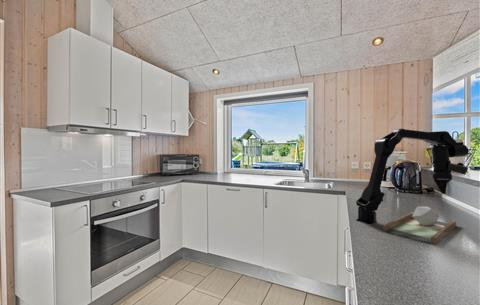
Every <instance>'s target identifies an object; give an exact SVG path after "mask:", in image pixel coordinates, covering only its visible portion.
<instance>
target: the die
mask: <svg viewBox="0 0 480 305" xmlns="http://www.w3.org/2000/svg"><path fill="white" fill-rule="evenodd" d="M413 212H414V213H413V215H412V217H413V218H414V219H415V220H416V221H417V222H419V223H420V224H421V225H422V226H434V225H435V223H436V221H438V219H439V217H440V215H439V213H437V212H435V211H434V210H433V209H432V208H431V207H429V206H416V208H415V209H414V211H413Z"/></svg>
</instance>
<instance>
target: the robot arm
mask: <svg viewBox="0 0 480 305" xmlns="http://www.w3.org/2000/svg"><path fill="white" fill-rule="evenodd" d="M403 139H410V140H416V141H417V140H418V141H424V142H425V143H428V144H430V145H429V146H428V147H427V148H426V149H427V150H431V155H432V156H431V157H432V166H433V168H432V169H433V172H432V179H433V181H434V182H435V184H436V186H437V187H438V189H439V191H440V192H441V194H446V191H447V185H448V183H449V182H451V181H452V180H453V174H452V172H455V173H459V174H462V175H466V174H467V172H468V170H469V166H465V165H464V163H463V162H458V163H452V162H451V160H450V158H459V157H462V158H463V157H466V156H468V154H469V150H470V149H469V148H468V146H467V145H465V144H464V142H463V141H459V142H457V141H456V139H454V138H453V137H452V135H451V134H450V132H449V131H447V130H443V131H441V130H440V131H422V130H414V129H413V130H412V129H406V128H397V129H394V130H392V131H391V132H390V133H388V134H386V135H385V136H382V137H381V138H377V140H375V142H374V150H373V151H374V153H375V157H374V160H373V162H374V163H373V166H372V170H371V173H370V177H369V180H368V181H369V182H368V185H367V186H366V187H365V188H364V189H363V192H362V194H361V196H360V197H359V198H358V199H357V200H356V201H355V204H356V206H357V210H358V211H357V218H356V221H357V222H362V223H364V224H365V223H367V224H369V225H370V224H371V225H372V224H374V223H377V221H378V220H377V212H376V211H378V209H379V206H380V205H381V204H382V202H383V203H384V196H385V192H382V189H381V186H382V183H383V182H382V181H383V179H384V174H385V170H386V167H387V163H388V159H389V158H390V156H391V155H393V153H394V151H395V149H396V146H397V145H398V144H400V143H401V141H402V140H403Z"/></svg>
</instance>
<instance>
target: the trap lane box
mask: <svg viewBox="0 0 480 305" xmlns="http://www.w3.org/2000/svg"><path fill="white" fill-rule="evenodd" d="M413 213H414V211H413V212H412V211H411V212H408V213H406V214H405V215H402V216H400V217H398V218H395V219H394V220H392V221H389V222H388V223H385V224H384V225H383V232H385V233H388V234H392V235H395V236H399V237H403V238H407V239H411V240H415V241H419V242H421V243H426V244H429V245H432V246H436V245H437V244H438V243H439V242H440V241H441V240H442V239H443V238H444V237H446V235H447V234H449V233H450V232H451V231H452V230H453V229H454V228H455V227H456V226H457V220H456V219H452V220H451V221H450V222H443V221H438V220H437V221H436V223H435V225H434V226H422V225H421V224H420V223H419V222H417V221H416V220H415V219H414V218H413V217H412V215H413Z"/></svg>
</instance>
